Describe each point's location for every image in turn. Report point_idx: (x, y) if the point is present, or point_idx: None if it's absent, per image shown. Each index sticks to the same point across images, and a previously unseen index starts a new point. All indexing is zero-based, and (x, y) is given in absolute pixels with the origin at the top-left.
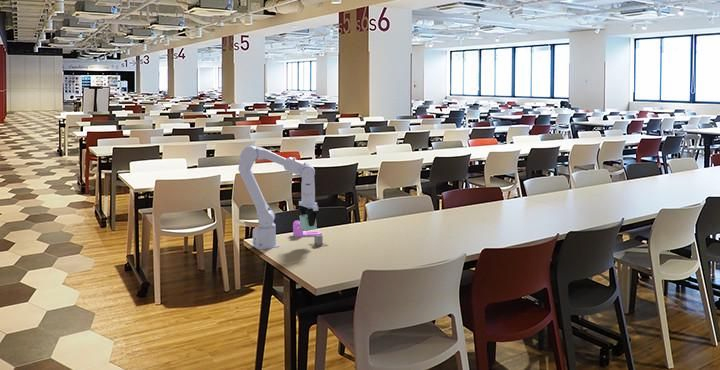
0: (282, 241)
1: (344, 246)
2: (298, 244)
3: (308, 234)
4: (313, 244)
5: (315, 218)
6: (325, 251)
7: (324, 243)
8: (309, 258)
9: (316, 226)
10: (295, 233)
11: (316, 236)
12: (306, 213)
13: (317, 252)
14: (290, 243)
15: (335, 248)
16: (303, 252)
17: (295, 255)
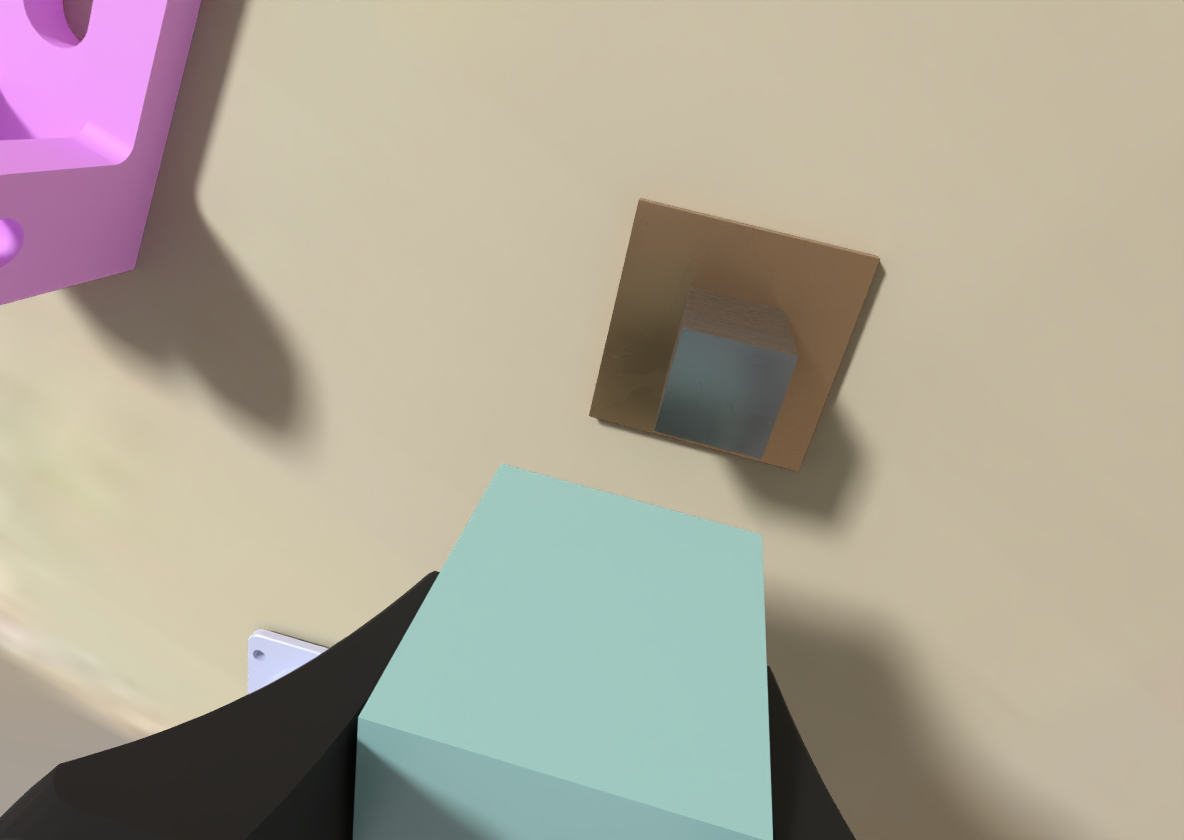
0: (232, 499)
1: (1140, 49)
2: (475, 474)
3: (150, 74)
4: (657, 385)
5: (843, 829)
6: (1049, 494)
7: (739, 225)
8: (1086, 802)
9: (763, 575)
10: (84, 275)
11: (735, 450)
12: (337, 801)
13: (984, 589)
14: (371, 503)
15: (1075, 273)
16: (831, 679)
17: (853, 796)
